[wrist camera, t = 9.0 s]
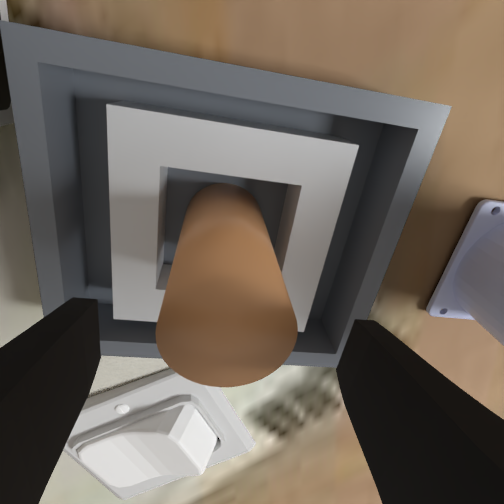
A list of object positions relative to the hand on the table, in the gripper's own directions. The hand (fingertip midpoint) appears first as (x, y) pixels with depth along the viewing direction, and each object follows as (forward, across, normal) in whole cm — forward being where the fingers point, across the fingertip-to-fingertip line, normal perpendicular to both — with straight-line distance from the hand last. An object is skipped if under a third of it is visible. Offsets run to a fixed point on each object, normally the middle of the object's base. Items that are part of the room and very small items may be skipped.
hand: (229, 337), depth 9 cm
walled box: (+10, 0, 0) cm, 10 cm away
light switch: (+10, +3, +18) cm, 21 cm away
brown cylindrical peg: (+9, 0, 0) cm, 9 cm away
